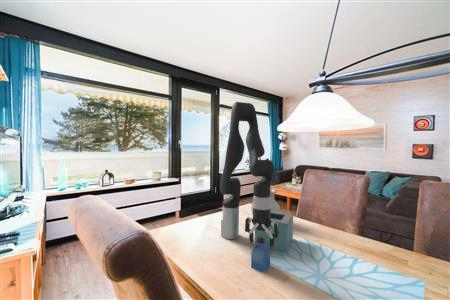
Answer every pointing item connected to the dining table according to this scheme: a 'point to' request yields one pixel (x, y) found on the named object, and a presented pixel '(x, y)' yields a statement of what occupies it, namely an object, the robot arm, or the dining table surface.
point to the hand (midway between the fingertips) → (261, 244)
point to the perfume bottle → (260, 255)
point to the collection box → (285, 231)
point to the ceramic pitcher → (274, 205)
